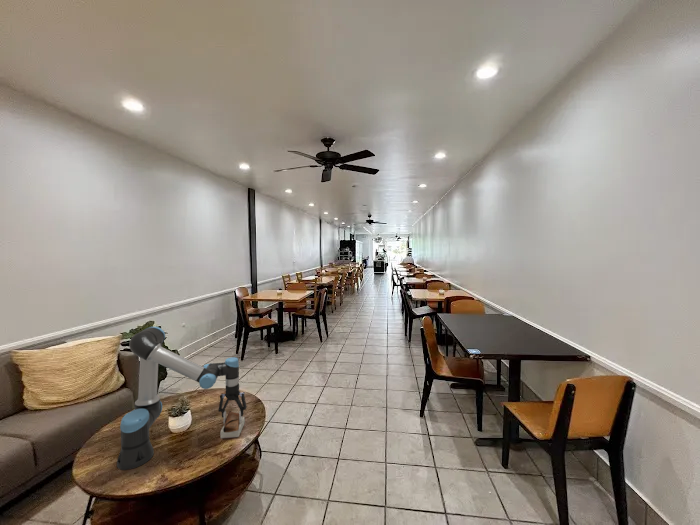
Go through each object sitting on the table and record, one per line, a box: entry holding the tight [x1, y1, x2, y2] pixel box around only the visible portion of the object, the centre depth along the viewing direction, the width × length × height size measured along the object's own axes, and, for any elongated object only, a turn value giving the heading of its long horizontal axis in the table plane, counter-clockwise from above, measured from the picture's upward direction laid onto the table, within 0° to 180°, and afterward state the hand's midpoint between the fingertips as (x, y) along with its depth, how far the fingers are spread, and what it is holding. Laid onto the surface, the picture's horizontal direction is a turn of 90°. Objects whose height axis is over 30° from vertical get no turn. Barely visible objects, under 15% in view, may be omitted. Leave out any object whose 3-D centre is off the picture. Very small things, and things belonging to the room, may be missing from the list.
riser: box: [220, 416, 246, 439], centre depth 171 cm, size 14×10×4 cm
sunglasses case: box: [223, 410, 239, 433], centre depth 171 cm, size 18×7×7 cm
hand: (232, 421), depth 171 cm, fingers open, 8 cm apart
